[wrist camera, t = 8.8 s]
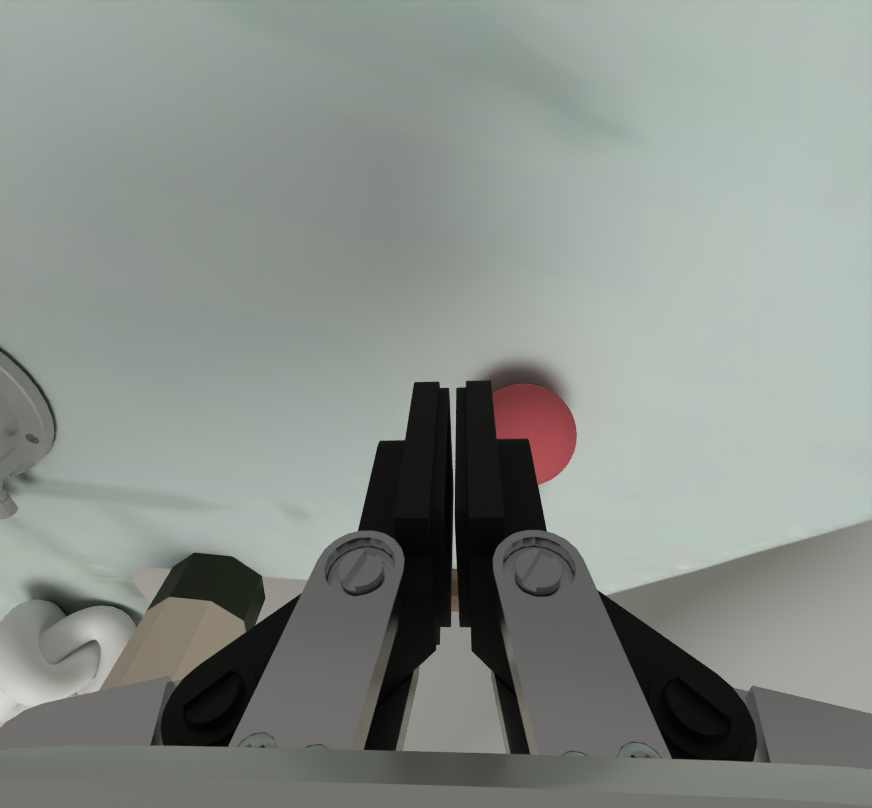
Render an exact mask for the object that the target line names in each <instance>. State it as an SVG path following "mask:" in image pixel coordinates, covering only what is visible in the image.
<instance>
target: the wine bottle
mask: <svg viewBox="0 0 872 808" xmlns="http://www.w3.org/2000/svg"><path fill="white" fill-rule="evenodd" d="M264 600H265V593H264V587H263V580H262V576H260V575H259V574H257V573H256V572H254V571H253V570H251V569H250V568H248V567H247V566H245V565H244V564H242V563H241V562H239V561H238V560H236V559H235V558H233V557H229V556H220V555H210V554H201V553H194V554H192V555H191V556H189V557H188V558H186V559H184V560H183V561H181V562H180V563H178V564H177V565H175V566H174V567H173V568H172V570H171V571H170V573H169V575H168V576H167V578H166V580H165V581H164V583H163V585H162V586H161V588H160V590H159V591H158V593H157V595H156V596H155V598H154V600H153V601H152V603H151V605H150V606H149V608H148V610H147V611H146V613H145V615H144V616H143V618H142V620H141V621H140V623H139V625H138V626H137V628H136V630H135V631H134V633H133V635H132V636H131V638H130V640H129V641H128V643H127V645H126V646H125V648H124V649H123V651H122V653H121V654H120V656H119V658H118V659H117V661H116V663H115V664H114V666H113V668H112V669H111V671H110V673H109V674H108V676H107V678H106V679H105V681H104V683H103V684H102V686H101V688H100V689H99V691H101V690H106V689H110V688H115V687H119V686H124V685H128V684H133V683H137V682H142V681H147V680H151V679H156V678H160V677H165V676H169V677H170V679H171V680H172V681H176V680H181V679H183V678H184V677H185V676H186V675H188V674H189V673H190V672H191V671H192V670H193V669H195V668H196V667H197V666H198V665H200V664H201V663H202V662H204V661H205V660H207V659H208V658H210V657H211V656H212V655H214V654H215V653H217V652H218V651H220V650H221V649H222V648H224V647H225V646H227V645H228V644H230V643H231V642H232V641H234V640H235V639H237V638H238V637H240V636H241V635H243V634H244V633H245V632H247V631H248V630H250V629H251V628H253V627H254V626H255V624H256V621H257V619H258V616H259V613H260V611H261V608H262V606H263V603H264Z"/></svg>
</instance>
